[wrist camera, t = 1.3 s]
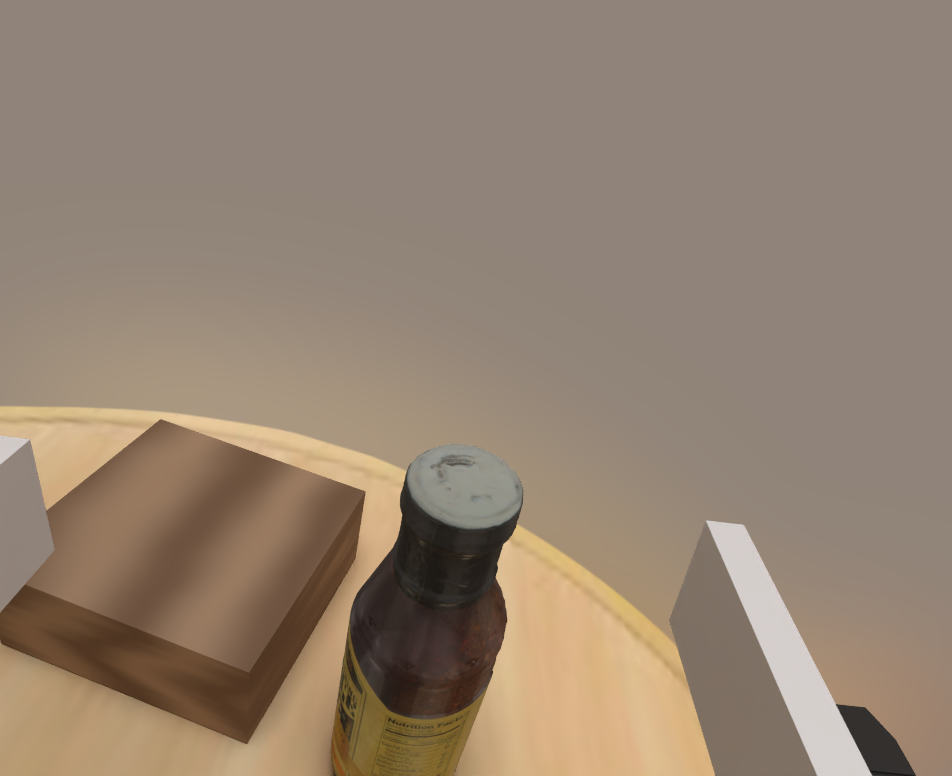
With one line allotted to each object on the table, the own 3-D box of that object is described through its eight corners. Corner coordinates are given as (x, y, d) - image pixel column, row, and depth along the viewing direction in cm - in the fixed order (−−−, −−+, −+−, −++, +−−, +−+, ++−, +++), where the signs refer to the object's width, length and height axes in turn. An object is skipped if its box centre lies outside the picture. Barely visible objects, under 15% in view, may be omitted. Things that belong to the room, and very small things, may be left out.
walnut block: (1, 643, 34) (-23, 565, 31) (165, 488, 45) (160, 419, 42) (246, 743, 33) (249, 672, 29) (355, 558, 43) (365, 491, 40)
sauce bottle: (356, 688, 36) (411, 393, 25) (465, 728, 35) (568, 443, 25) (302, 813, 31) (342, 503, 20) (429, 861, 30) (542, 570, 19)
